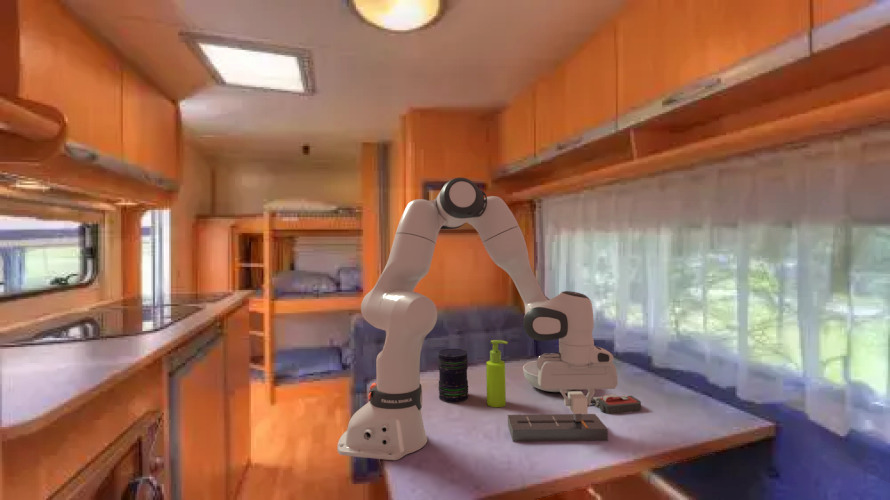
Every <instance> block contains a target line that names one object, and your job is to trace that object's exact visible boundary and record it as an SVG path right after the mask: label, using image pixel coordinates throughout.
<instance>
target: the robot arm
mask: <svg viewBox="0 0 890 500" xmlns="http://www.w3.org/2000/svg"><path fill="white" fill-rule="evenodd" d="M398 222H399V223H398V226H397V228H396V231H395V234H394V238H393V242H392V245H391V249H390V251H389V252H390V253H389V256H388V259H387V262H386V264H385V267H384V269H383V271H382V273H381V274H380V275H379V277H378V280H377V281H376V283H375V284H374V287H373V288H372V289H371V290H370V291H369V292H368V293H366V294H365V296H363V299H362V301H361V305H360V312H361V316H362V318H364V321H366V322H367V323H368V324H370V326H373V327H374V328H376V329H379V330H382V331H385V340H384V345H383V348H382V350H381V351H379V353H378V354H377V356H376V361H375V363H376V364H375V365H376V369H375V370H376V371H375V372H376V382H373V383H372V384H371V385H370V387H369V390H368V402H367V403H365V404H364V405H362V407H360V408H359V409H357V411H355V412H354V414H353V415H351V418H350V420H349V422H348V425H347V429H346V430H345V431H344V432H343V434H341V436H340V438H339V439H338V442H337V447H336V448H337V453H338V454H339V455H340V456H347V457H357V458H366V459H367V458H369V459H375V460H376V459H378V460H388V461H398V460H401V458H403V457H404V456H406V455H408V454H411V453H414V452H416V451H419V450H420V449H421V448H423V447H424V446H426V444H427V442H428V436H427V432H426V430H425V425H424V420H423V412H422V407H423V389H422V384H421V383H420V382H421V377H420V375H421V373H420V372H421V363H420V362H421V352H422V348H423V345H424V342H425V338H426V337H427V335H428V334H430V332H432V330H433V329H434V327H435V326H436V323H437V320H438V310H437V306H436V304H435V302H434V301H433V300H432V299H431V298H429V297H428V296H426V295H423V293H419V292H416V291H414V290H415V289H416V287H417V286H418V283H420V281H421V280H422V279H424V278H425V276H427V275H428V273H429V271H430V268H431V265H432V261H433V258H434V256H433V255H434V252H435V248H436V244H437V239H438V235H439V233H440V231H441V230H454V229H455V230H456V229H458V228H461V227H463V226H464V225H465V224H466V223H467V224H469V225H470V226H471V227H473V228H474V229H475V231H476V232H477V233H478V236H479V238H480V240H481V243H482V245H483V246H484V250H486V253H487V254H488V256H489V257H490V259H491V260H492V262H493V263H494V264H495V265H497V267H499V268H501V269H502V270H503V271H504V272H505V273H507V274H508V276H509V277H510V278H511V280H512V282H513V283H514V285H515V287H516V289H517V291H518V293H519V295H520V297H521V300H522V301H523V304H524V316H523V320H522V321H523V322H522V325H523V328H524V329H523V330H524V332H525V333H526V334H527V336H528V337H530V338H531V339H532V340H535V341H539V342H546V341H555V340H558V353H556V352H555V353H553V352H552V353H548V352H547V353H546V352H545V353H543V354H542V355H539V356H538V358H537V360H536V361H537V367H538V369H539V372H538V384H539V386H540V387H541V388H542V389H543V390H542V391H544V390H560V392H559V393H560V394H561V395H562V397H563V402H564V403H563V404H564V406H565V407H568V406H571V399H570V397H568V395H566V394H568V391H567V390H571V389H574V390H586V391H587V394H586V395H585V396H586V397H587V407H588V406H589V407H590V406H591V405H592V404H591V399H593V397H594V395H595V393H596V392H595V391H596V390H614V389H616V387H617V386H618V375H617V374H618V372H617V368H616V365H615V363H613V362H614V355H613V353H611V352H610V351H609V350H607V349H605V348H602V347H601V346H600V347H599V346H596V345H595V341H594V338H593V330H594V328H595V327H594V326H595V323H594V321H595V320H594V309H593V304H592V301H591V299H590V298H589V297H588V296H587V295H585V294H584V293H580V292H576V291H570V290H569V291H566V290H564V291H561V292H560V293H559V294H558V295H556V296H555V297H551V298H549V297H547V295H545V293H544V291H543V290H542V288H541V286H540V283H539V282H538V280H537V277H536V275H535V274H534V272H533V269H532V267H531V262H530V258H529V251H528V247H527V242H526V240H525V236H524V234H523V231H522V229H521V228H520V226H519V223H518V221H517V219H516V217H515V215H514V213H513V212H512V211H511V209H510V207H509V206H508V205H507V203H506V202H505V200H504V199H502V198H501V197H500V196H494V195H490V196H487V194H486V193H485V191H483V190H482V189H481V188H479V187H478V185H477V184H476V183H474V182H473V180H471V179H468V178H466V177H455V178H453V179H451V180H449V181H447V182H446V183H444V185H443V187H442V188H441V190H440V191H439V193H438V194H437V196H436V197H435V198H434V199H433V200H428V199H421V198H419V199H418V198H417V199H413V200H411V201H409V202H408V203H407V205H406V206H405V209H404V211H403V212H402V215H401V217H400V220H399V221H398ZM571 391H572V390H571Z"/></svg>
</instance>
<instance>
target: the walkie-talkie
mask: <svg viewBox="0 0 890 500" xmlns="http://www.w3.org/2000/svg"><path fill="white" fill-rule="evenodd" d="M591 405H594V407H595V408H598V409H600V412H604V413H605V414H607V415H614V414H623V413H634V412H641V411H642V402H641V400H640V399H638V398H636V397H635V396H633V395H626V394H622V395H621V396H620V395H618V394H616V393H611V394H604V395H603V396H593V397H592V399H591Z"/></svg>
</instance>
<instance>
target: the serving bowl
mask: <svg viewBox="0 0 890 500" xmlns="http://www.w3.org/2000/svg"><path fill="white" fill-rule="evenodd" d="M522 371H523V375H524V378H525V380H526V381H527V382H528V383H529V384H530V385H531V386H532V387H535V388H536V389H539V390H541V391H545V392H550V393H561V392H560V390H543V389H542V388H541V387H540V386H539V384H538V372H539V369H538V367H537V360H533V361H529V362H527V363H525V364H524V365H523V366H522ZM573 390H574V391H575V389H571V390H567V392H572V391H573Z"/></svg>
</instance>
